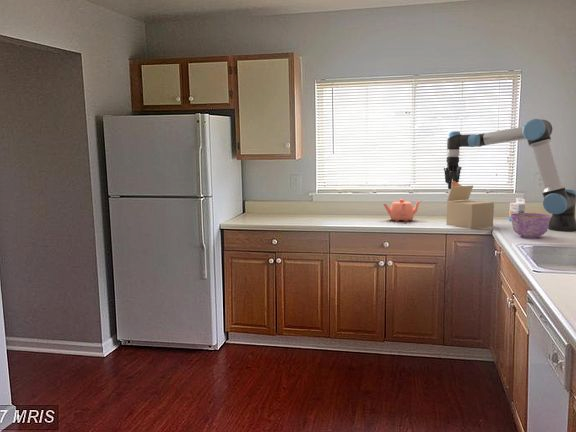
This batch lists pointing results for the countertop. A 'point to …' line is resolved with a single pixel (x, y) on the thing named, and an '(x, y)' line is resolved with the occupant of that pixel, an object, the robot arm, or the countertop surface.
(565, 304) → the countertop surface
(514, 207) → the ink box
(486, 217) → the carton
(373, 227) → the countertop surface
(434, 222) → the countertop surface
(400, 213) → the teapot
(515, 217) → the purple speckled bowl
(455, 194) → the flap
